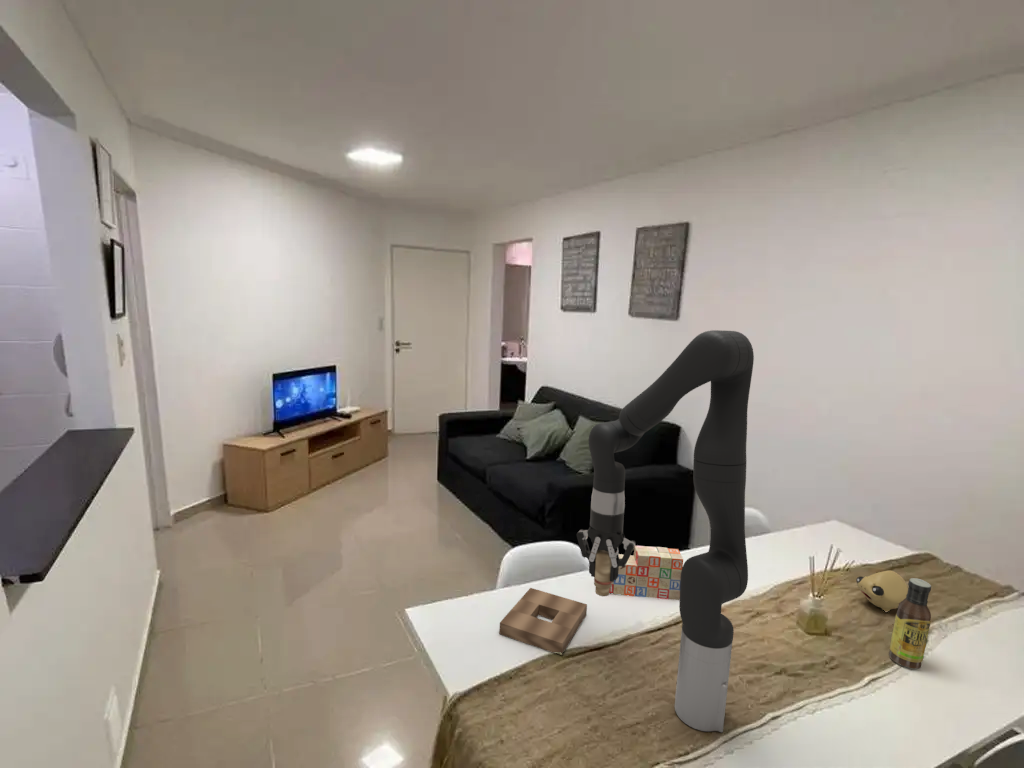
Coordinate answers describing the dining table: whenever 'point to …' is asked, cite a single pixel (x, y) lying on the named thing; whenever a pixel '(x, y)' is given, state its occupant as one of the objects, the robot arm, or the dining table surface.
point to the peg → (602, 573)
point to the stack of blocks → (650, 573)
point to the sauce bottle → (911, 626)
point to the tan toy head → (883, 589)
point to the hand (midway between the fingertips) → (603, 577)
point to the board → (540, 632)
